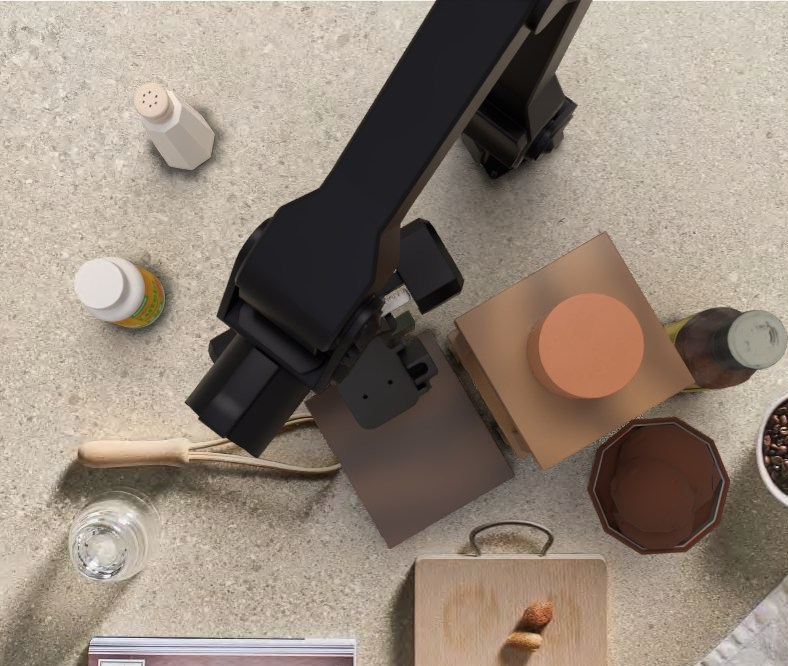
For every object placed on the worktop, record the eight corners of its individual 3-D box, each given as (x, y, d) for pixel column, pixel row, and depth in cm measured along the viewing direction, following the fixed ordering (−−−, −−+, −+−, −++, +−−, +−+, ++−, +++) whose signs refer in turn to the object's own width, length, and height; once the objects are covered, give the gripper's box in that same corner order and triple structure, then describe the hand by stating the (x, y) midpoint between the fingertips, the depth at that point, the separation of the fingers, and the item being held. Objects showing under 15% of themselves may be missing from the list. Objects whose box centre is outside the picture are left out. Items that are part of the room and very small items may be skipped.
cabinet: (315, 402, 79) (303, 402, 70) (426, 336, 79) (429, 328, 70) (391, 533, 78) (389, 549, 70) (504, 468, 78) (515, 476, 70)
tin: (592, 285, 55) (610, 273, 50) (641, 368, 55) (664, 364, 50) (508, 333, 55) (518, 326, 50) (557, 416, 55) (572, 417, 50)
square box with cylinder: (547, 283, 78) (606, 230, 55) (610, 389, 78) (696, 382, 55) (441, 345, 79) (454, 319, 55) (503, 451, 78) (543, 471, 55)
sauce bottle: (722, 336, 78) (828, 312, 58) (700, 402, 78) (798, 401, 58) (652, 311, 78) (734, 280, 58) (629, 378, 78) (704, 369, 58)
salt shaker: (227, 132, 79) (198, 88, 68) (195, 182, 79) (160, 147, 68) (176, 100, 79) (139, 51, 68) (144, 151, 79) (101, 110, 68)
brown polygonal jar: (651, 560, 78) (707, 597, 63) (543, 493, 78) (575, 514, 63) (714, 459, 78) (786, 471, 63) (607, 392, 78) (653, 389, 63)
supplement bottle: (159, 334, 79) (124, 324, 69) (101, 322, 79) (58, 310, 69) (171, 275, 79) (138, 257, 69) (113, 263, 79) (72, 243, 69)
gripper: (265, 484, 57) (297, 467, 73) (513, 339, 57) (491, 353, 72) (179, 337, 57) (229, 351, 73) (426, 191, 57) (423, 237, 73)
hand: (345, 326), depth 73 cm, fingers closed
